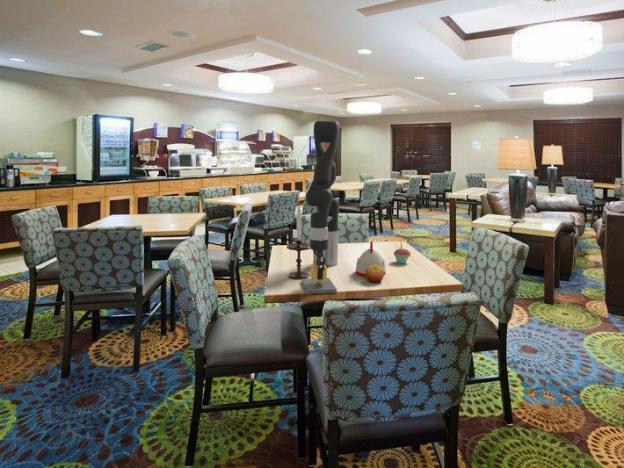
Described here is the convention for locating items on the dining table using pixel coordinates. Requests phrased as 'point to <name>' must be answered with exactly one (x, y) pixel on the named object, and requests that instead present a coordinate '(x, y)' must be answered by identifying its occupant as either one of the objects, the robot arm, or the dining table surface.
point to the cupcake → (402, 254)
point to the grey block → (319, 286)
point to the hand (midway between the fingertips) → (318, 277)
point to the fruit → (374, 273)
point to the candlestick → (298, 249)
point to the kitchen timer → (369, 261)
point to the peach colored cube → (314, 273)
